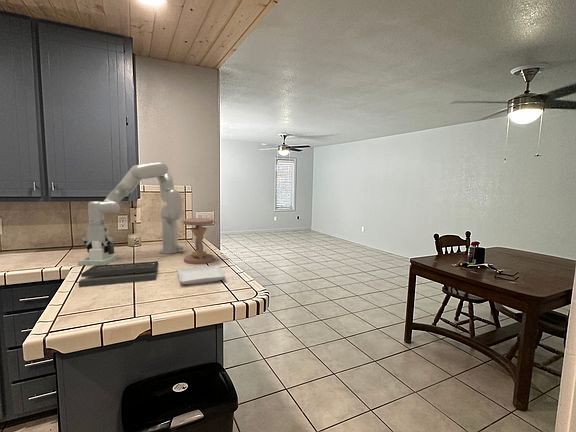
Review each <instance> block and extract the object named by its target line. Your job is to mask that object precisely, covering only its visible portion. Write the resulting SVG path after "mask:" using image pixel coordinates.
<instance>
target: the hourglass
mask: <svg viewBox="0 0 576 432" xmlns="http://www.w3.org/2000/svg"><path fill="white" fill-rule="evenodd" d="M214 222H215V220H214V219H213V218H207V217H192V218H185V219H183V223H182V224H183V225H187V226H195V227H191V228H190V230H191V232H192V233H193V235H194V236H195V238H196V239H195V241H194V242H195V243H194V244H195V250H194V251H193V252H191V254H188V255H187V254H186V255H185V256H184V258H183V261H184V263H186V264H188V265H189V264H190V265H203V264H208V263H209V264H210V263H212V262H213V261H214V260H215V256H214V255H213V254H211V253H208V252H207V251H205V250H204V244H203V239H204V235H205V233H206V231H207V229H208V228H207V227H204V226H208V225H214Z"/></svg>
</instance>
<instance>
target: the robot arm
mask: <svg viewBox="0 0 576 432" xmlns="http://www.w3.org/2000/svg"><path fill="white" fill-rule="evenodd" d="M153 178H156V179H157V180H158V184H159V194H160V199H161V201H162V202H164V203H166V205H164V206H163V207H162V208H161V210H160V216H161V225H162V226H161V229H162V230H161V231H162V248H161V249H160V251H159V252H160V253H161V254H166V255H167V254H177V253H179V252H181V250H185V247H184V246H183V245H181V246H180V244H179V242H178V241H179V238H178V235H179V234H178V233H179V232H178V221H179V220H180V219H182V217H183V213H184V212H183V210H184V209H183V202H182V201H183V200H182V195H181V193H180V192H179V191H178V190H177V189H175V186H174V180H173V177H172V175H171V173H170V172H169V167H168V165H167V164H166V163H165V162H161V161H160V162H151V163H145V164H136V165H133V166H131V167H130V169H129V170H128V171H127V173H126V174H125V175H124V177H123V178H122V179H121V180H120V182H119V183H118V184H117V185H116V186H115V187H114V188H113V189H112V190H111V191H110V192H109V194H108V195H106V197H105V199H103V201H101V200H98V201H97V200H96V201H93V200H92V201H89V202H88V203H87V211H88V225H87V229H86V235H85V236H84V237H82V238H81V239H82V241H83V243H84V244H85V246H86V249H87V250H86V251H87V253H88V254H89V249H92V248H93V247H92V242H93V241H99V242H100V243H103V244H104V245H105V246H104V253H107V252H109V245H110V244H111V243H112V242H113V241H114V238H113V237H112V236H109V231H108V226H107V221H106V220H105V214H107V215H108V214H109V215H114V214H117V213H118V212H120V209H121V205H120V202H121V201H122V200H123V199H124V198H125V197H126V196H128V195H130V194H131V193H133V191H135V190H136V188H137V186H138V185H139V183H140V182H142V180H146V179H147V180H148V179H153ZM108 240H109V242H108Z"/></svg>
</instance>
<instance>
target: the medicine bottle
mask: <svg viewBox="0 0 576 432" xmlns="http://www.w3.org/2000/svg"><path fill="white" fill-rule="evenodd" d="M91 245H92V249H89V253H88V257H89V260H104V259H107V258H108V255H109V254H108V252H107V253H104V246H105V245H104V244H103V243H100V242H99V241H93V242H92V243H91Z"/></svg>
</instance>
